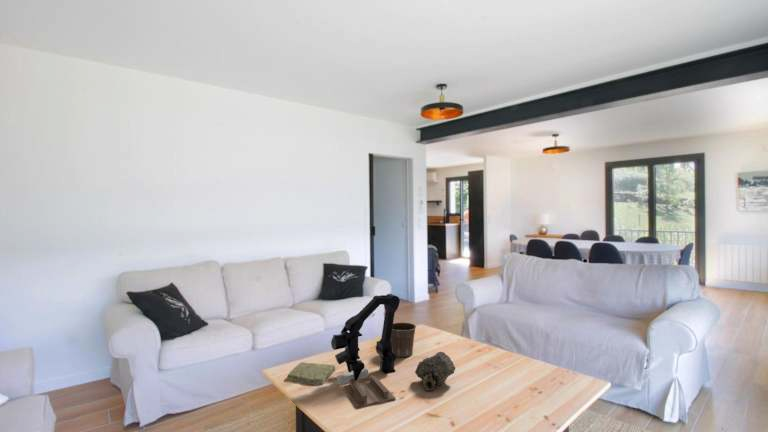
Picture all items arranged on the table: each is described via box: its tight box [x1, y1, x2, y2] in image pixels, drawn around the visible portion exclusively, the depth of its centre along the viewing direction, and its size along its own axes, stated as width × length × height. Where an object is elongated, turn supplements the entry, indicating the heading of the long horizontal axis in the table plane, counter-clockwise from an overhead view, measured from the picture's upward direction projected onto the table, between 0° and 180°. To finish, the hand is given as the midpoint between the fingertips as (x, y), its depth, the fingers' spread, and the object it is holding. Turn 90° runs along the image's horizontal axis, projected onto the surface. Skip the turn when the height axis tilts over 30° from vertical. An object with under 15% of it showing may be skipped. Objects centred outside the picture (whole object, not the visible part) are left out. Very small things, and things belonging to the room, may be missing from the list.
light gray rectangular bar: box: [336, 367, 369, 386], centre depth 192 cm, size 16×3×4 cm, turn 124°
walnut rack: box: [342, 374, 397, 409], centre depth 177 cm, size 18×20×4 cm
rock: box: [414, 351, 456, 392], centre depth 185 cm, size 18×14×15 cm
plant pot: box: [391, 322, 417, 358], centre depth 225 cm, size 16×16×16 cm
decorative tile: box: [286, 361, 336, 386], centre depth 197 cm, size 19×20×4 cm
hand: (352, 377), depth 192 cm, fingers open, 9 cm apart
